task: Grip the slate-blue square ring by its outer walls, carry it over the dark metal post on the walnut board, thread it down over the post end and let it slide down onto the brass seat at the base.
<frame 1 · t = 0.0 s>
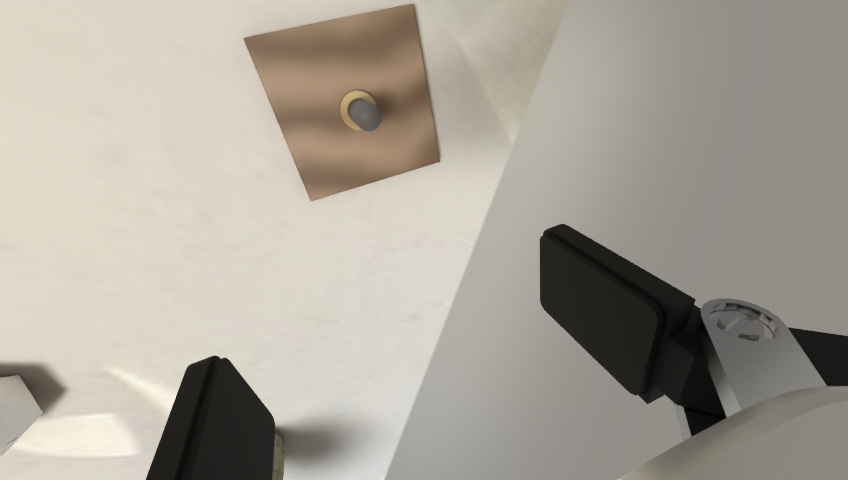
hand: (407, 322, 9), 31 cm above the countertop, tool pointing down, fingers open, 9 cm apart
thermos: (254, 443, 53), on the countertop
post board: (355, 108, 35), on the countertop
die: (2, 390, 36), on the countertop
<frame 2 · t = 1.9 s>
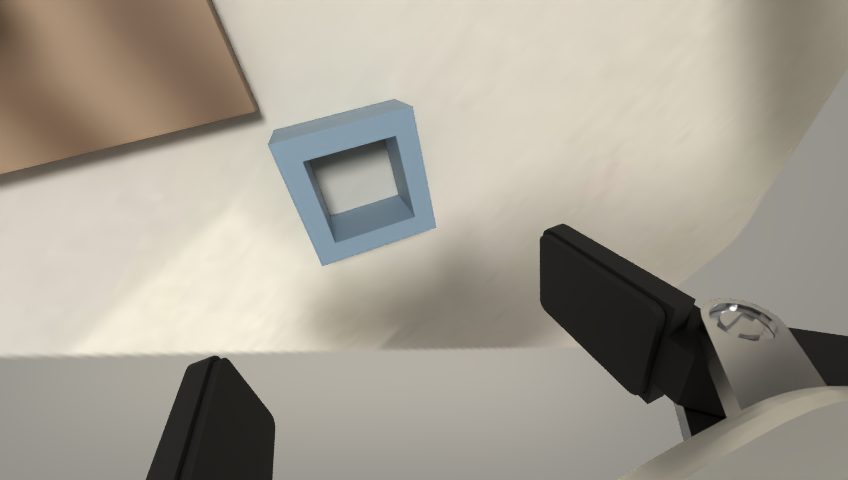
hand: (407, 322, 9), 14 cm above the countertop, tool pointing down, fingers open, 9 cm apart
slate ring: (354, 171, 21), on the countertop
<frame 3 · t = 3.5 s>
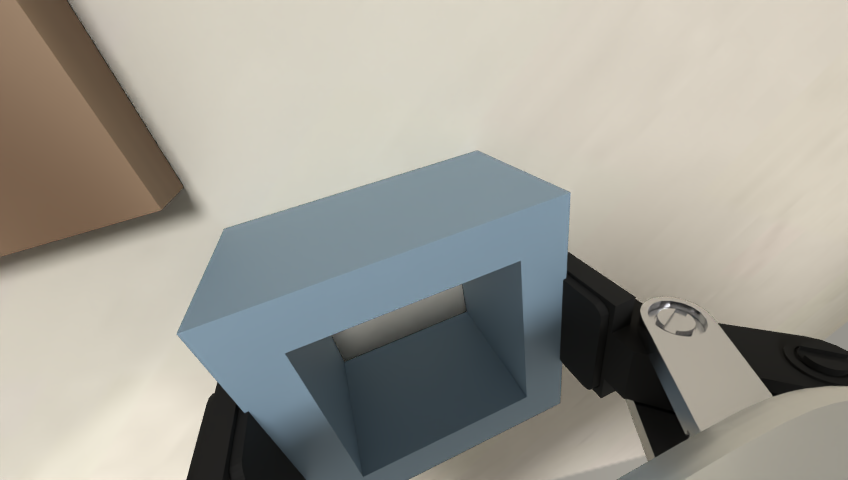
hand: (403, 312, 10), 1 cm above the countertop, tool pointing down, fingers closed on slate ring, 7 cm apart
slate ring: (392, 286, 11), on the countertop, touching gripper
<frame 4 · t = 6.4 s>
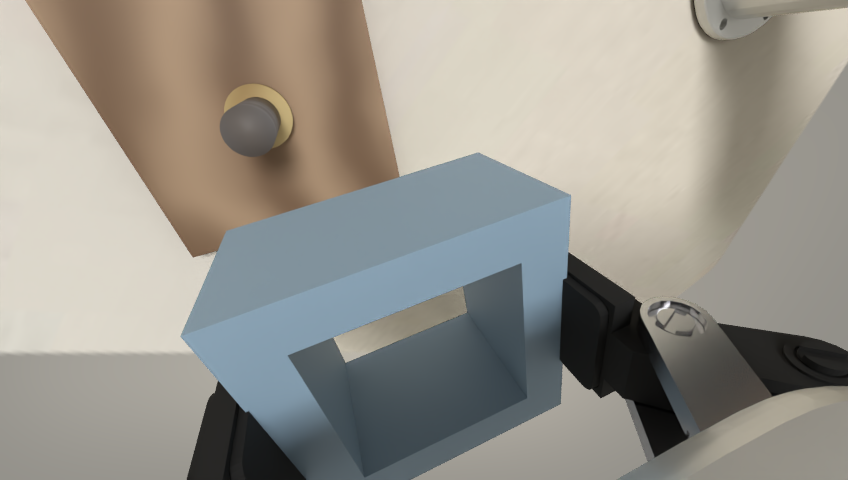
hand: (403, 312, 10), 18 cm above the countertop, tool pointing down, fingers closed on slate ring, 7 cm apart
post board: (263, 113, 22), on the countertop
slate ring: (393, 287, 11), point 17 cm above the countertop, touching gripper
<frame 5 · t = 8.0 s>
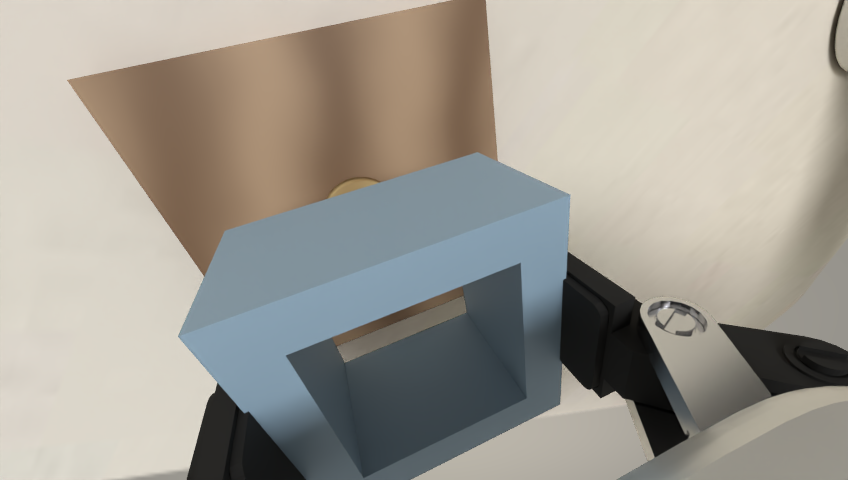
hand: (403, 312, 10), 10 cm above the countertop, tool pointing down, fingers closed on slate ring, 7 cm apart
post board: (356, 202, 18), on the countertop
slate ring: (392, 287, 11), point 8 cm above the countertop, touching gripper
when the fingers open (5 cm above the countertop, at t = 9.4 s): slate ring drops 2 cm, resting on post board.
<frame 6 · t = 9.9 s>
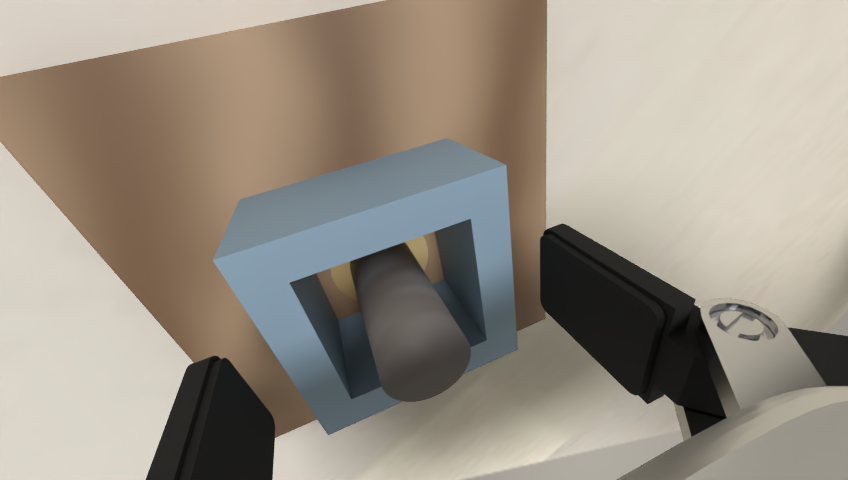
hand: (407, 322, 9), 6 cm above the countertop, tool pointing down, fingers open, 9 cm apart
post board: (370, 236, 14), on the countertop
slate ring: (378, 253, 13), point 1 cm above the countertop, touching post board
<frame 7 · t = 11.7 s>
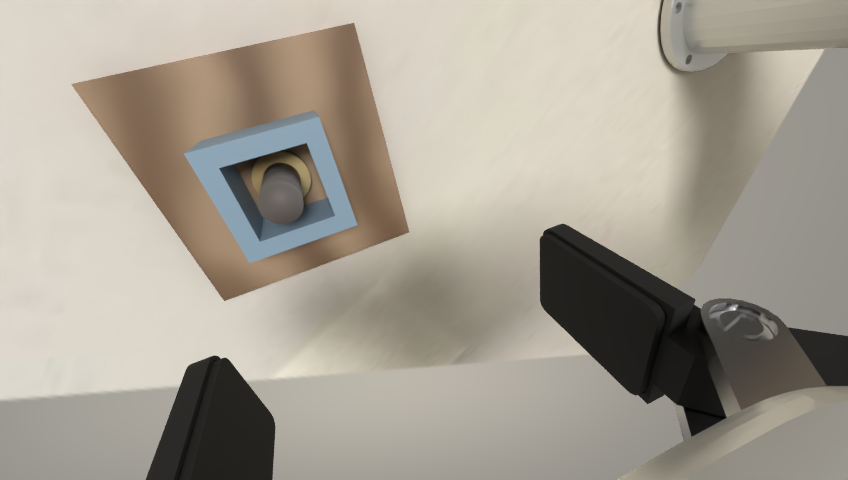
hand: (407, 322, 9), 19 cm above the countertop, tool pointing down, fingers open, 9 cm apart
post board: (282, 171, 25), on the countertop
slate ring: (282, 177, 23), point 1 cm above the countertop, touching post board
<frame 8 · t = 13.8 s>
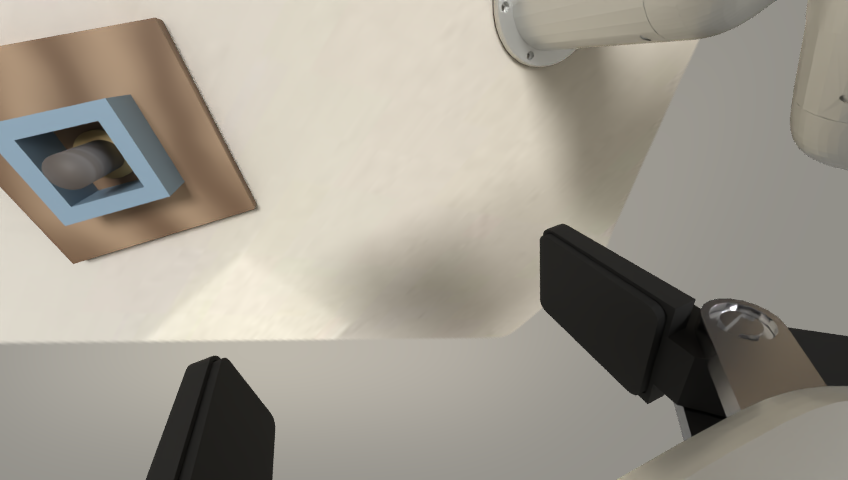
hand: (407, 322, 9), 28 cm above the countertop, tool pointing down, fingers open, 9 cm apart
post board: (118, 149, 28), on the countertop
slate ring: (110, 153, 27), point 1 cm above the countertop, touching post board
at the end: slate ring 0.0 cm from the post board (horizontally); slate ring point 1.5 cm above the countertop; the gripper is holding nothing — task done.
